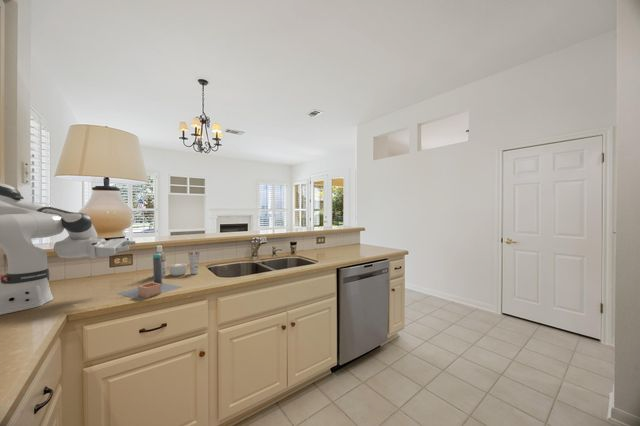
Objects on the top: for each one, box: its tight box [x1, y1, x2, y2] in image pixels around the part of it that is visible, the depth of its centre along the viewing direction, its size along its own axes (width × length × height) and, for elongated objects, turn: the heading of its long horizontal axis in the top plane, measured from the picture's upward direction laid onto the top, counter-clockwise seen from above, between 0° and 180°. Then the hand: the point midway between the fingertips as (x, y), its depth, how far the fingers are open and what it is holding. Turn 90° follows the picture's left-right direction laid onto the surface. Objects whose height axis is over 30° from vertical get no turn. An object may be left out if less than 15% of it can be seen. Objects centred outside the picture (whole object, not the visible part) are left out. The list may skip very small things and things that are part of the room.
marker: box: [152, 253, 163, 284], centre depth 132 cm, size 4×4×16 cm
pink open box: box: [137, 281, 162, 299], centre depth 117 cm, size 7×7×4 cm
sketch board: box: [117, 282, 182, 301], centre depth 123 cm, size 20×19×1 cm
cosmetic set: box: [152, 245, 201, 278], centre depth 153 cm, size 25×9×19 cm, turn 114°
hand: (132, 245), depth 129 cm, fingers open, 8 cm apart
